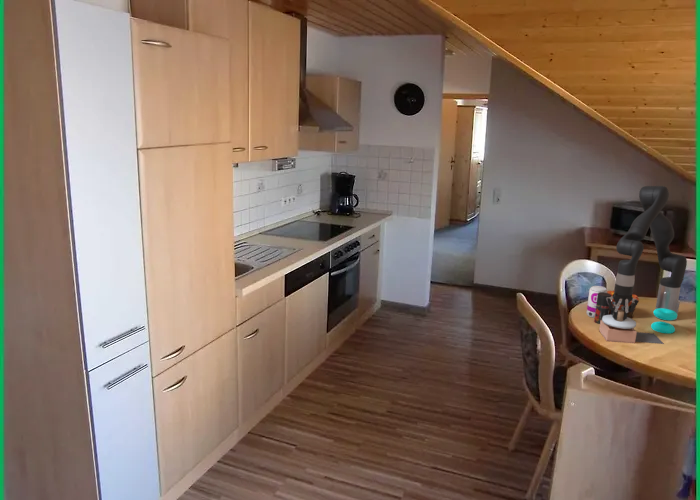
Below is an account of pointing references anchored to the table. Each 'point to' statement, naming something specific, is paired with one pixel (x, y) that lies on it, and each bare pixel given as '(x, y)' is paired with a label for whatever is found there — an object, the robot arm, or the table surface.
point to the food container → (630, 314)
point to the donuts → (664, 315)
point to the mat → (647, 338)
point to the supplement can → (593, 299)
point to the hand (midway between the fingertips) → (619, 319)
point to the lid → (619, 321)
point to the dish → (617, 333)
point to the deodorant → (601, 307)
